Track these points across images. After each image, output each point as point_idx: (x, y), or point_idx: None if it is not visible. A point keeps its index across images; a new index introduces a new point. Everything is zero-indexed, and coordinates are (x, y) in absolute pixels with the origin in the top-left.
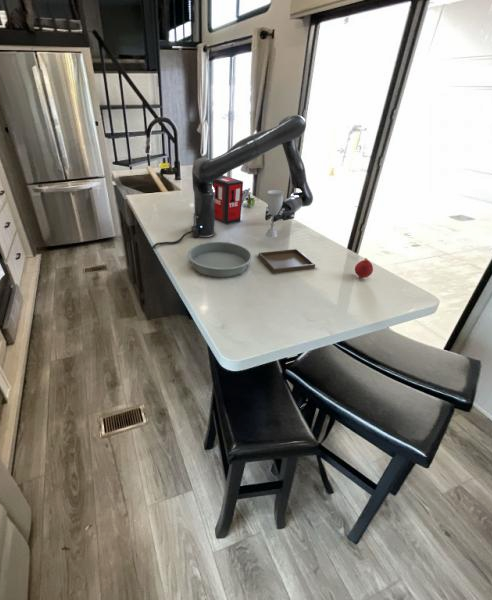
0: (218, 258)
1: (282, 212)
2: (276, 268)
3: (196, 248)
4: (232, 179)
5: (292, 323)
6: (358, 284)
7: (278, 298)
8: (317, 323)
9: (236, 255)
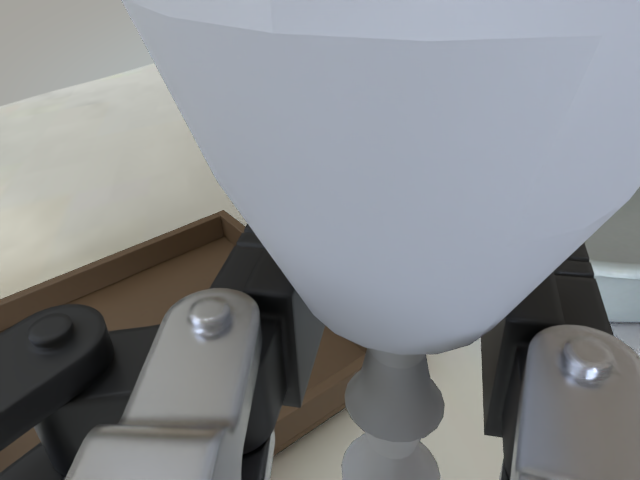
0: (626, 242)
1: (120, 430)
2: (212, 217)
3: None
4: None
5: (146, 89)
6: None
7: (190, 132)
8: (72, 102)
9: None
